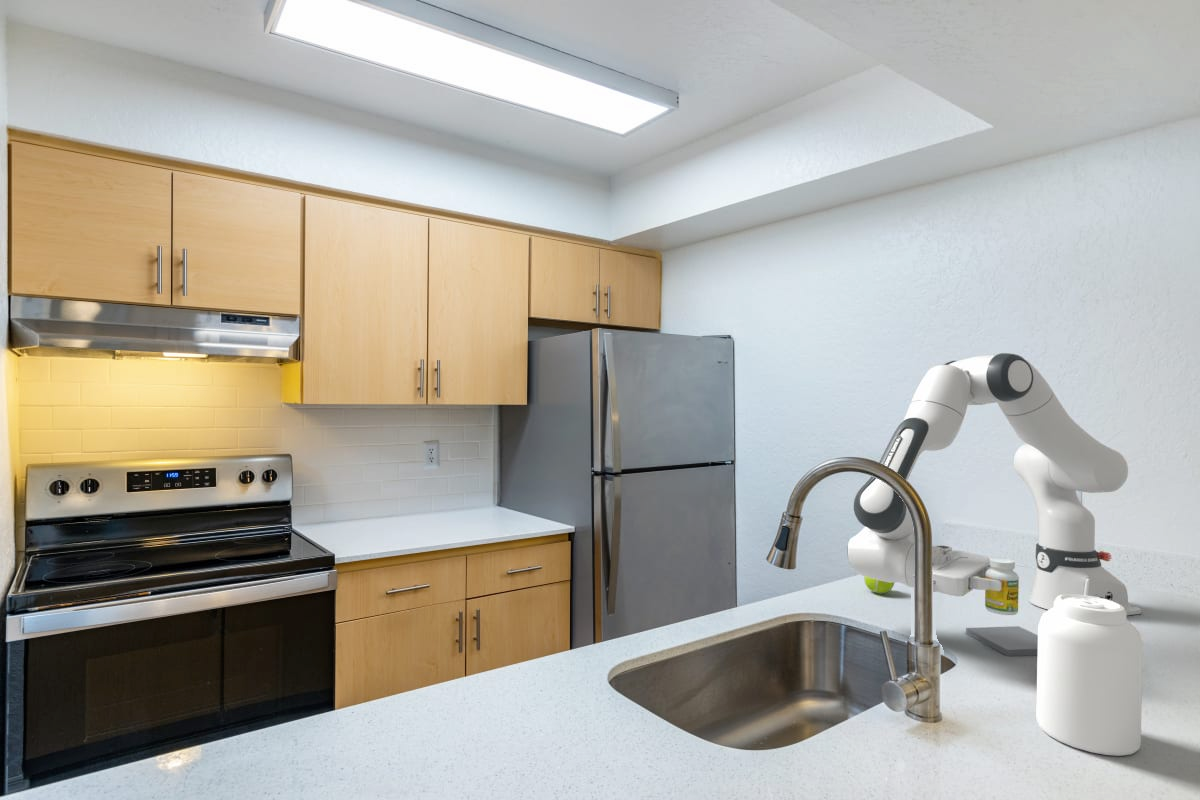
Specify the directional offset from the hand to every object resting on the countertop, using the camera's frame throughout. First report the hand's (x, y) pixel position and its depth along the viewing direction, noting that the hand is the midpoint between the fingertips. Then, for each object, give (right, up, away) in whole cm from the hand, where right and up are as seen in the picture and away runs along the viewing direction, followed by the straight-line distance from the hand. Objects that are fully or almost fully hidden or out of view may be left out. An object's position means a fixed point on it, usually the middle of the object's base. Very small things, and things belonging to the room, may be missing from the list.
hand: (1007, 582), depth 125 cm
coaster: (+8, -15, +11) cm, 20 cm away
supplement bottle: (-1, -6, +1) cm, 6 cm away
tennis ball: (-5, -15, +45) cm, 47 cm away
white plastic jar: (-4, -16, -26) cm, 30 cm away
